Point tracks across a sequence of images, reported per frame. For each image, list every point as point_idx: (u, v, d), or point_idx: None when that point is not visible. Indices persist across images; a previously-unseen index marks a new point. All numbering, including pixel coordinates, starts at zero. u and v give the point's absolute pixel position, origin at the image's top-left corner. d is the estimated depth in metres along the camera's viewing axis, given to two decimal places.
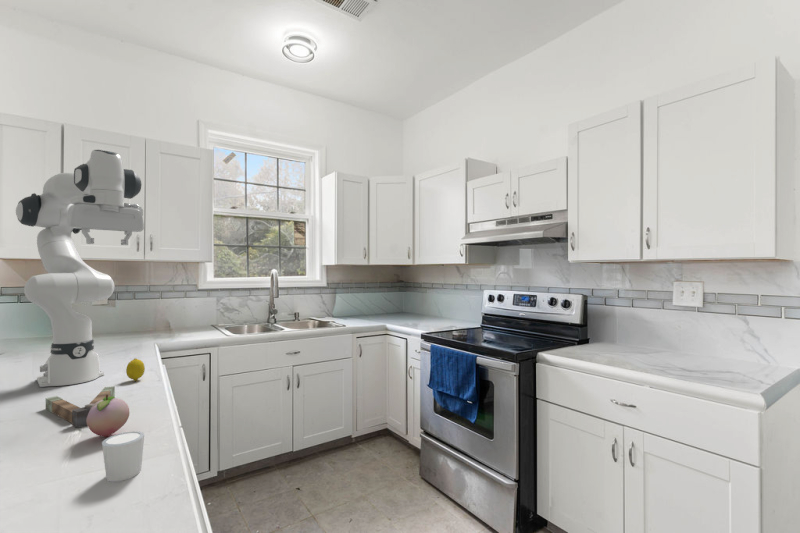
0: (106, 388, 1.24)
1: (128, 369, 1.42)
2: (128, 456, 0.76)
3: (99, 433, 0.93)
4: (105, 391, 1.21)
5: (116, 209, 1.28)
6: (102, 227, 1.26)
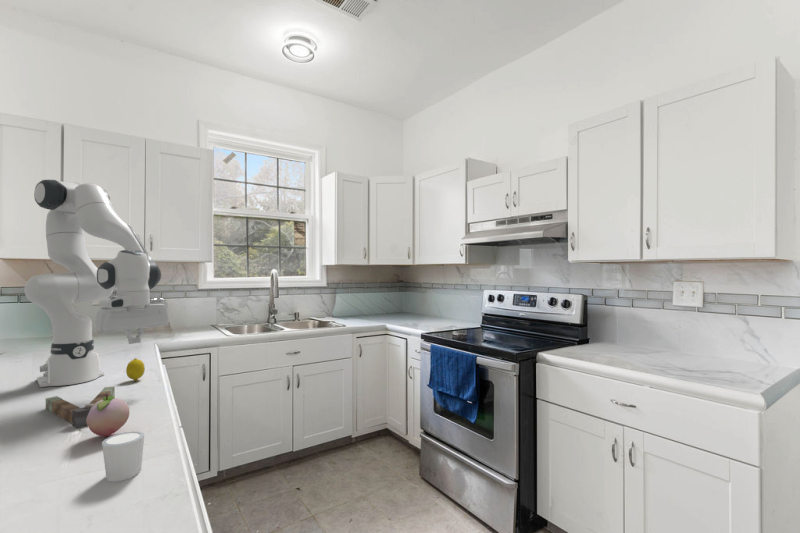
0: (106, 388, 1.24)
1: (128, 369, 1.42)
2: (128, 456, 0.76)
3: (99, 433, 0.93)
4: (105, 391, 1.21)
5: (142, 308, 1.30)
6: (129, 328, 1.27)
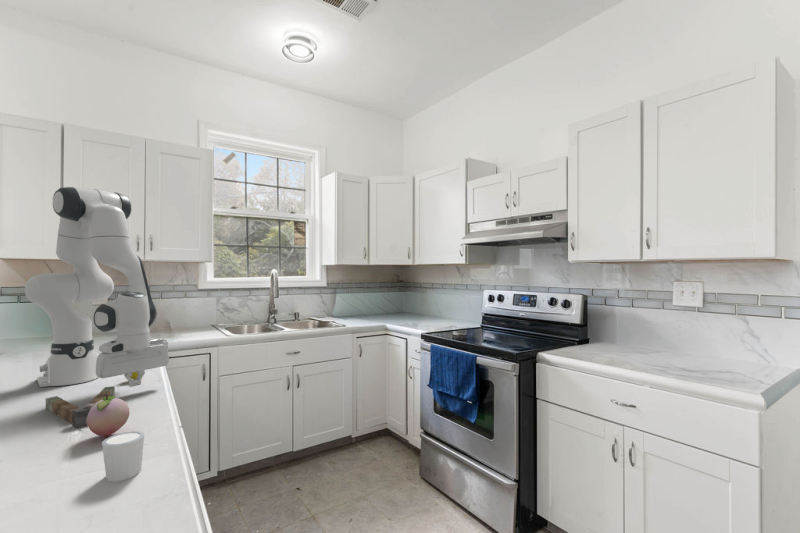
0: (106, 388, 1.24)
1: None
2: (128, 456, 0.76)
3: (99, 433, 0.93)
4: (105, 391, 1.21)
5: (143, 351, 1.29)
6: (129, 371, 1.27)
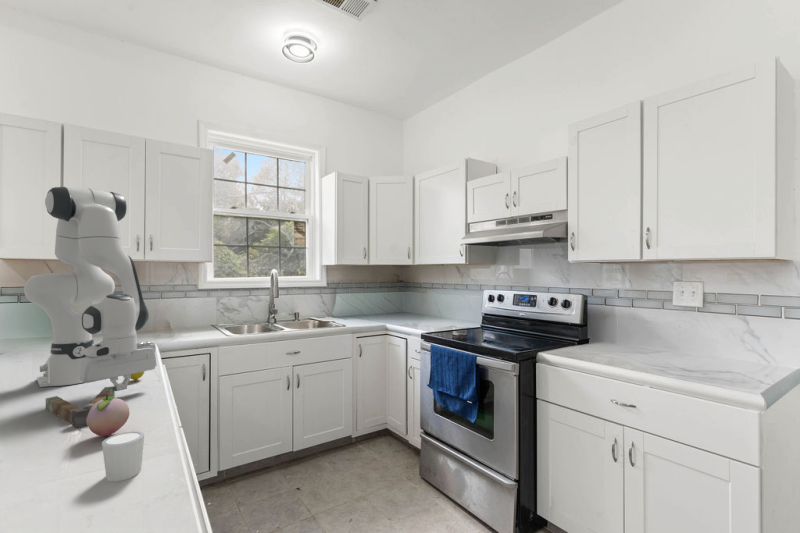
0: (106, 388, 1.24)
1: None
2: (128, 456, 0.76)
3: (99, 433, 0.93)
4: (105, 391, 1.21)
5: (129, 354, 1.26)
6: (115, 375, 1.24)
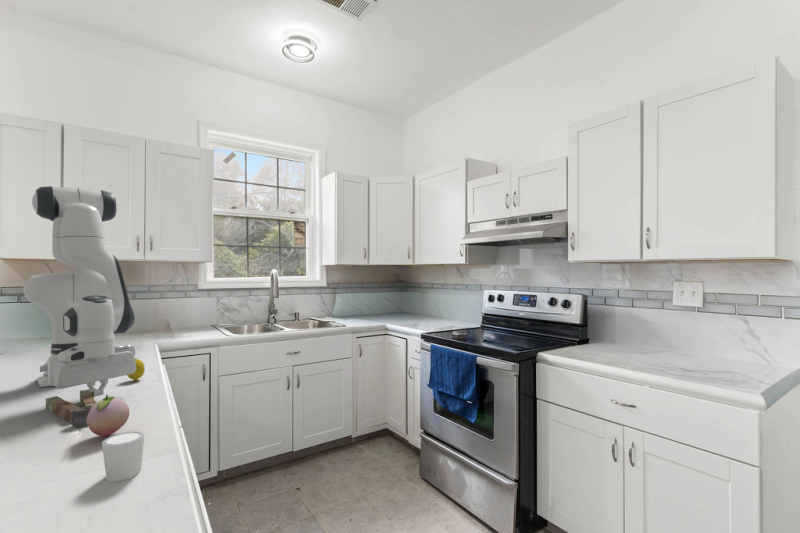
0: (83, 391, 1.21)
1: None
2: (128, 456, 0.76)
3: (99, 433, 0.93)
4: (86, 393, 1.19)
5: (106, 359, 1.21)
6: (91, 381, 1.19)
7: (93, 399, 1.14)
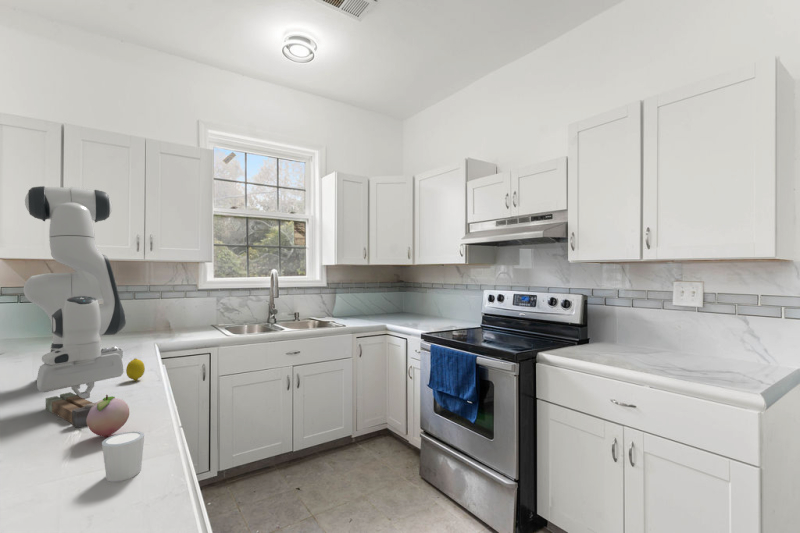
0: (65, 394, 1.18)
1: (128, 369, 1.42)
2: (128, 456, 0.76)
3: (99, 433, 0.93)
4: (71, 396, 1.17)
5: (92, 361, 1.18)
6: (76, 384, 1.16)
7: (86, 400, 1.13)
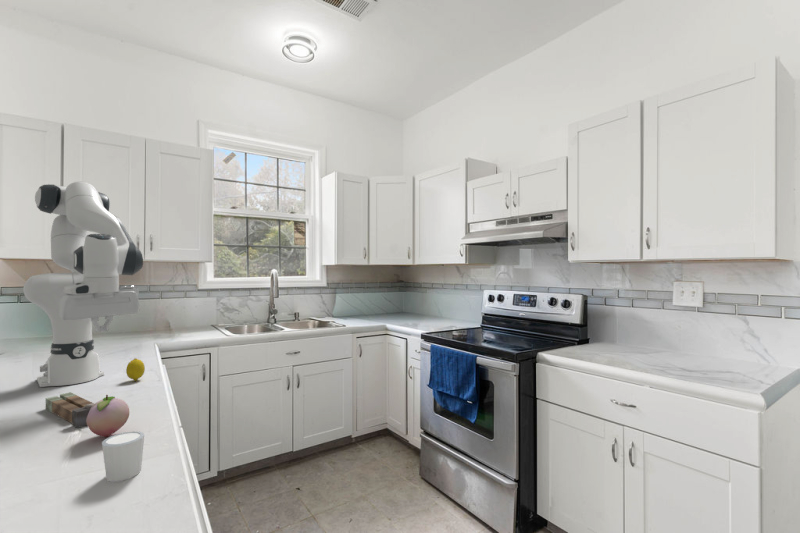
0: (65, 394, 1.18)
1: (128, 369, 1.42)
2: (128, 456, 0.76)
3: (99, 433, 0.93)
4: (71, 396, 1.17)
5: (110, 295, 1.24)
6: (96, 315, 1.22)
7: (86, 400, 1.13)
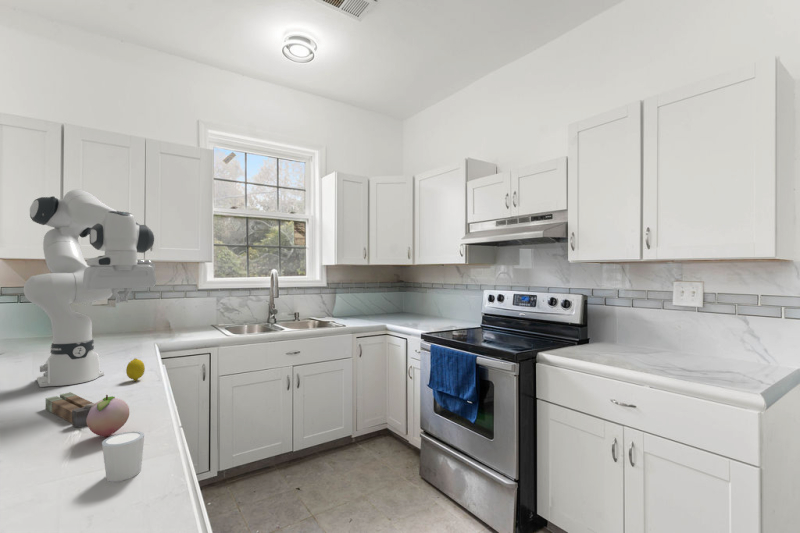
0: (65, 394, 1.18)
1: (128, 369, 1.42)
2: (128, 456, 0.76)
3: (99, 433, 0.93)
4: (71, 396, 1.17)
5: (130, 268, 1.32)
6: (116, 287, 1.30)
7: (86, 400, 1.13)
